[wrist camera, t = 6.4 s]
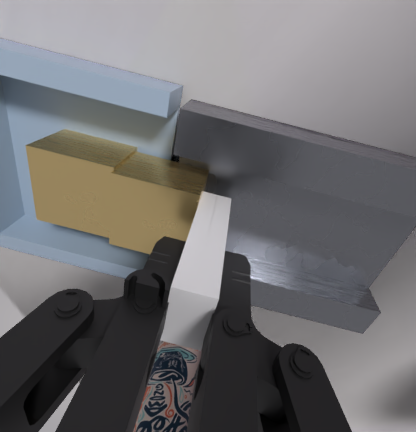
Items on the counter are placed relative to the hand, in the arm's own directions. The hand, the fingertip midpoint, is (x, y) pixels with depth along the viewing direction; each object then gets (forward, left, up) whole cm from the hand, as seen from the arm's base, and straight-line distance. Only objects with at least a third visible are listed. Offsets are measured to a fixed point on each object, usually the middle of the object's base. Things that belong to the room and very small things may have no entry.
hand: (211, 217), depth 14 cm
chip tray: (0, -7, -2) cm, 8 cm away
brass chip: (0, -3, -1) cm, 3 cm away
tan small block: (0, -7, -2) cm, 7 cm away
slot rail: (0, +4, -2) cm, 5 cm away
